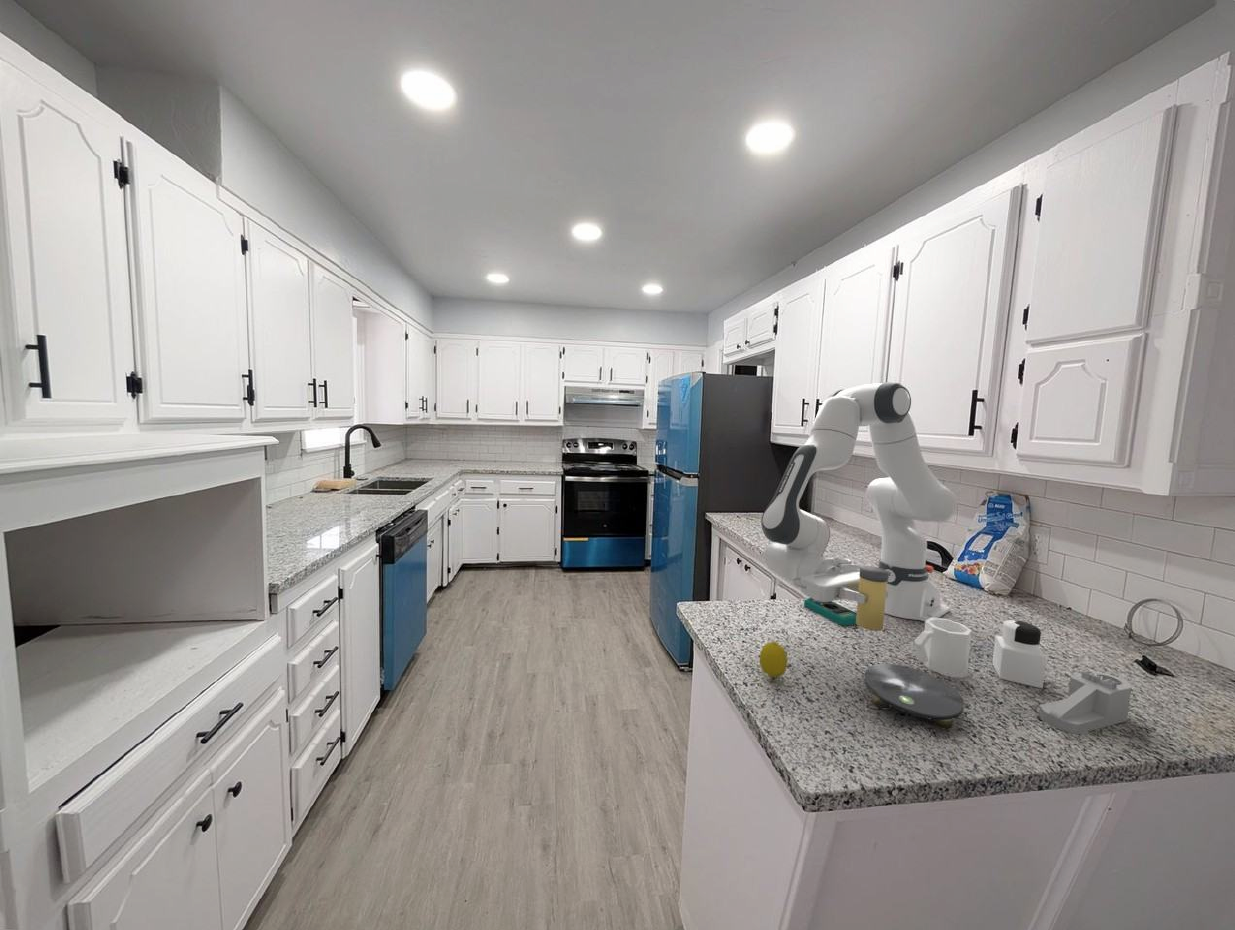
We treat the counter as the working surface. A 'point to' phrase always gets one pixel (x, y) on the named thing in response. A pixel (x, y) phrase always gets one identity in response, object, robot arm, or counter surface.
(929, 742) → the counter surface
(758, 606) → the counter surface
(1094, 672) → the sloped support bracket
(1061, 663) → the counter surface
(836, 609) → the digital multimeter
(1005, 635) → the medicine bottle
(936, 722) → the plate
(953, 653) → the mug
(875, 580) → the yellow lidded tumbler
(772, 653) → the lemon
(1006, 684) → the counter surface
